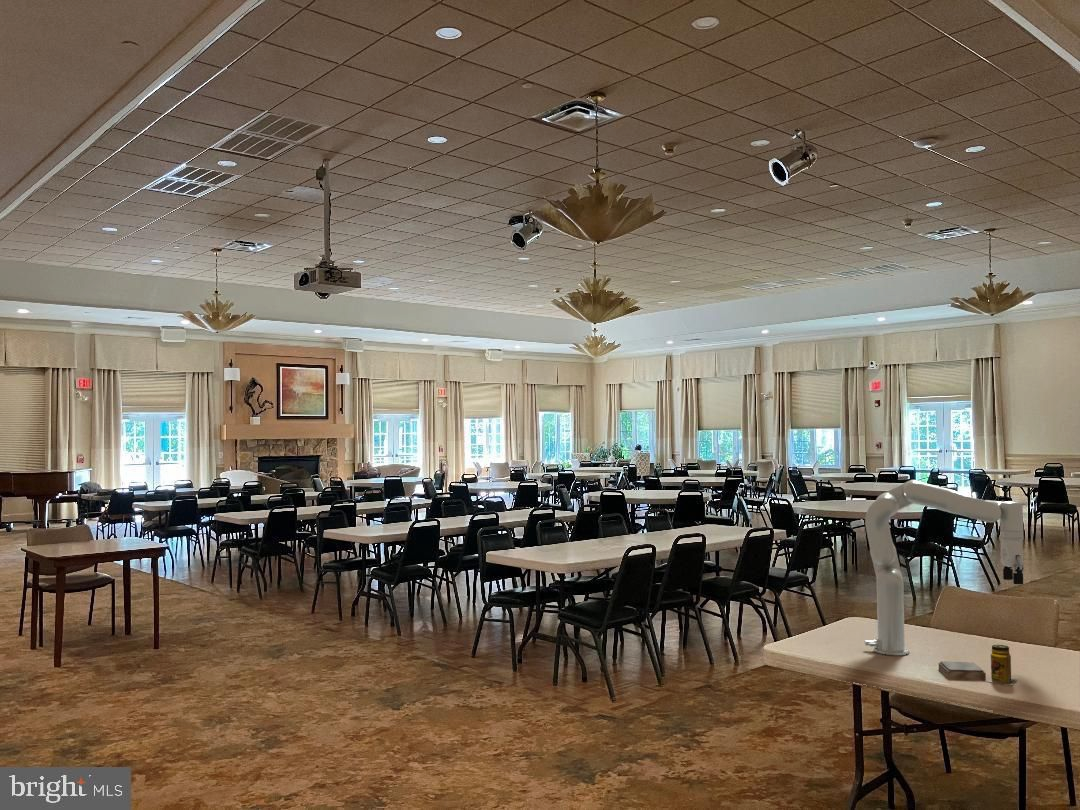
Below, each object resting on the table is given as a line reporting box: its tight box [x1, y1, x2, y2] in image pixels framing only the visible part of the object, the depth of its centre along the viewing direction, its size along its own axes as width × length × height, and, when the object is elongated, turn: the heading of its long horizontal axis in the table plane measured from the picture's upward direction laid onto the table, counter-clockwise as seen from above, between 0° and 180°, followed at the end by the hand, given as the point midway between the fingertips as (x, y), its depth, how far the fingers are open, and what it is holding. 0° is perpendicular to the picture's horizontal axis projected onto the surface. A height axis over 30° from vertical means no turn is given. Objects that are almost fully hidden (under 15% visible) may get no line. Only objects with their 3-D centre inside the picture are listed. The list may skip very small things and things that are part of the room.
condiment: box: [987, 644, 1018, 686], centre depth 306 cm, size 7×8×12 cm
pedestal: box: [938, 661, 987, 681], centre depth 314 cm, size 12×12×3 cm
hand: (1013, 581), depth 333 cm, fingers open, 9 cm apart
